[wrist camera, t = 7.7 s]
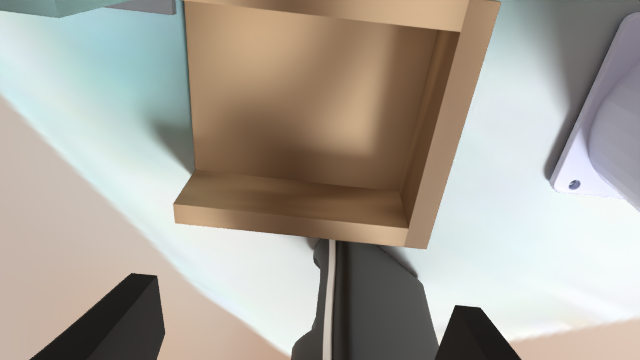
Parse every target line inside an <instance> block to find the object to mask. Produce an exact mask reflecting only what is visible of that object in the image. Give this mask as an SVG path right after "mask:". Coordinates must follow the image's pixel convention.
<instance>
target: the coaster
mask: <svg viewBox="0 0 640 360" xmlns="http://www.w3.org/2000/svg"><path fill="white" fill-rule="evenodd" d="M105 7H106V8H115V9H123V10H132V11H141V12H150V13H159V14H168V15H174V14H176V3H175V0H130V1H126V2H122V3H118V4H113V5H109V6H105Z"/></svg>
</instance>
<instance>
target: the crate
mask: <svg viewBox="0 0 640 360" xmlns="http://www.w3.org/2000/svg"><path fill="white" fill-rule="evenodd" d="M184 3H185V19H186V34H187V50H188V65H189V81H190V96H191V112H192V127H193V142H194V158H195V171H194V173H193V174H192V176H191V177H190V179H189V180H188V182H187V183H186V185H185V187H184V188H183V190H182V191H181V193H180V194H179V196H178V197H177V199H176V200H175V202H174V204H173V207H174V217H175V223H179V224H188V225H198V226H207V227H217V228H227V229H236V230H246V231H255V232H265V233H274V234H284V235H294V236H303V237H313V238H322V239H332V240H341V241H351V242H361V243H370V244H380V245H389V246H399V247H409V248H418V249H427V245H428V242H429V239H430V236H431V232H432V229H433V226H434V222H435V219H436V216H437V212H438V209H439V206H440V203H441V199H442V196H443V193H444V189H445V186H446V183H447V179H448V176H449V173H450V170H451V166H452V163H453V160H454V156H455V153H456V150H457V146H458V143H459V140H460V137H461V133H462V130H463V127H464V123H465V120H466V117H467V113H468V110H469V107H470V104H471V100H472V97H473V94H474V90H475V87H476V84H477V80H478V77H479V74H480V71H481V67H482V64H483V61H484V57H485V54H486V51H487V47H488V44H489V41H490V38H491V34H492V31H493V28H494V24H495V21H496V18H497V14H498V11H499V8H500V5H501V2H499V1H496V0H184Z"/></svg>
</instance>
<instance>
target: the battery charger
mask: <svg viewBox="0 0 640 360" xmlns="http://www.w3.org/2000/svg"><path fill="white" fill-rule="evenodd" d="M313 259H314V263H315V264H316V266H317V267H318V268H320V285H319V293H318V302H317V311H316V318H315V320H314V323H313V325H312V330H311V331H309V332H308V333H306V334H305V335H304V336H302V337H301V338H300V339H299V340H298V341H296V343H295V344H294V346H293V348H292V356H291V360H435V357H436V354H437V352H438V349H439V345H438V341H437V338H436V334H435V331H434V327H433V324H432V320H431V316H430V312H429V308H428V304H427V299H426V295H425V291H424V287H423V284H422V283H421V282H420V281H419V280H418V279H416V278H415V277H414V276H413V275H412V274H411V273H410V272H408V271H407V270H406V269H405V268H404V267H402V266H401V265H400V264H399V263H398V262H397V261H395V260H394V259H393V258H392V257H391V256H389V255H388V254H387V253H386V252H385V251H383V250H382V249H381V248H380V247H379V246H377V245H376V244H370V243H361V242H351V241H341V240H332V239H321V240H320V241H319V242H318V244H317V245H316V247H315V249H314V254H313Z"/></svg>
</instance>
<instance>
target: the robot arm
mask: <svg viewBox="0 0 640 360" xmlns="http://www.w3.org/2000/svg"><path fill="white" fill-rule="evenodd" d="M574 180H576V182H575V183H574V184H572V185H569V184H570V183H571V182H572V181H574ZM549 183H550V186H551V187H552V188H553V189H554V190H555V191H557V192H562V193H571V194H580V195H589V196H599V197H608V198H617V199H625V200H626V201H628V202H629V203H630V204H631V205H632V206H633V207H634V208H636V209H637V210H638V211H639V212H640V12H635V13H632V14H630V15H628V16H627V17H626V18H625V19H623V21H622V23H621V24H620V26H619V28H618V31H617V33H616V35H615V37H614V39H613V42H612V44H611V46H610V48H609V50H608V53H607V55H606V57H605V59H604V61H603V64H602V66H601V68H600V70H599V73H598V75H597V77H596V79H595V81H594V84H593V86H592V88H591V90H590V92H589V95H588V97H587V99H586V101H585V103H584V106H583V108H582V110H581V112H580V114H579V117H578V119H577V121H576V123H575V125H574V128H573V130H572V132H571V134H570V137H569V139H568V141H567V143H566V145H565V148H564V150H563V152H562V154H561V156H560V159H559V161H558V163H557V165H556V167H555V170H554V172H553V174H552V176H551V178H550V182H549ZM164 335H165V328H164V321H163V314H162V307H161V300H160V293H159V286H158V279H157V276H155V275H145V274H135V273H131V274H130V275H129V276H127V277H126V278H125V279H124V280H123V281H121V283H119V284H118V285H117V286H116V287H115V288H114V289H112V290H111V291H110V292H109V293H108V294H107V295H106V296H104V297H103V298H102V299H101V300H100V301H99V302H98V303H96V304H95V305H94V306H93V307H92V308H91V309H90V310H88V311H87V312H86V313H85V314H84V315H83V316H82V317H80V318H79V319H78V320H77V321H76V322H75V323H73V324H72V325H71V326H70V327H69V328H68V329H66V330H65V331H64V332H63V333H62V334H60V335H59V336H58V337H57V338H55V339H54V340H53V341H52V342H51V343H50V344H49V345H47V346H46V347H45V348H44V349H43V350H41V351H40V352H39V353H37V354H36V355H35V356H34V357H32V358H31V359H30V360H157V357H158V354H159V351H160V347H161V345H162V341H163V339H164ZM435 360H521V359H520V357H519V356H518V355H517V353H516V352H515V351H514V350H513V349H512V347H511V346H510V345H509V343H508V342H507V341H506V340H505V338H504V337H503V336H502V334H501V333H500V332H499V331H498V329H497V328H496V327H495V326H494V324H493V323H492V322H491V320H490V319H489V318H488V317H487V315H486V314H485V313H484V312H483V310H482V309H481V308H479V307H469V306H459V305H455V307H454V310H453V313H452V315H451V318H450V320H449V323H448V326H447V328H446V331H445V333H444V336H443V339H442V341H441V344H440V346H439V349H438V352H437V354H436V357H435Z"/></svg>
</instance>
